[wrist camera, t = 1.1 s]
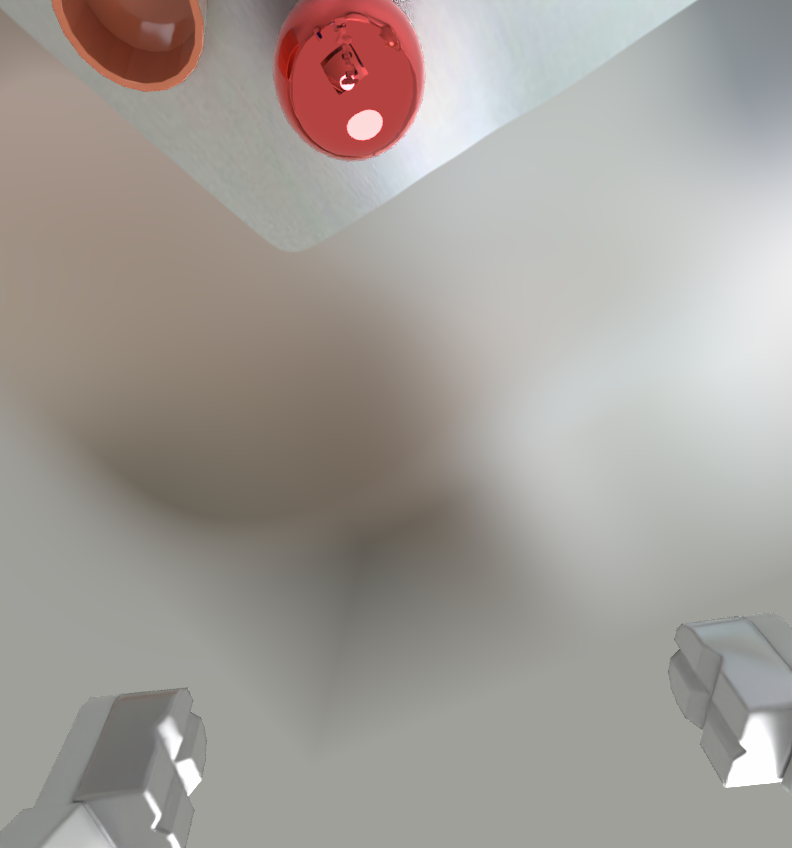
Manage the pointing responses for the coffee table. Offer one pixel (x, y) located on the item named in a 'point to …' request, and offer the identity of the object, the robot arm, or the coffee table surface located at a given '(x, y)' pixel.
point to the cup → (136, 38)
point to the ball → (349, 75)
